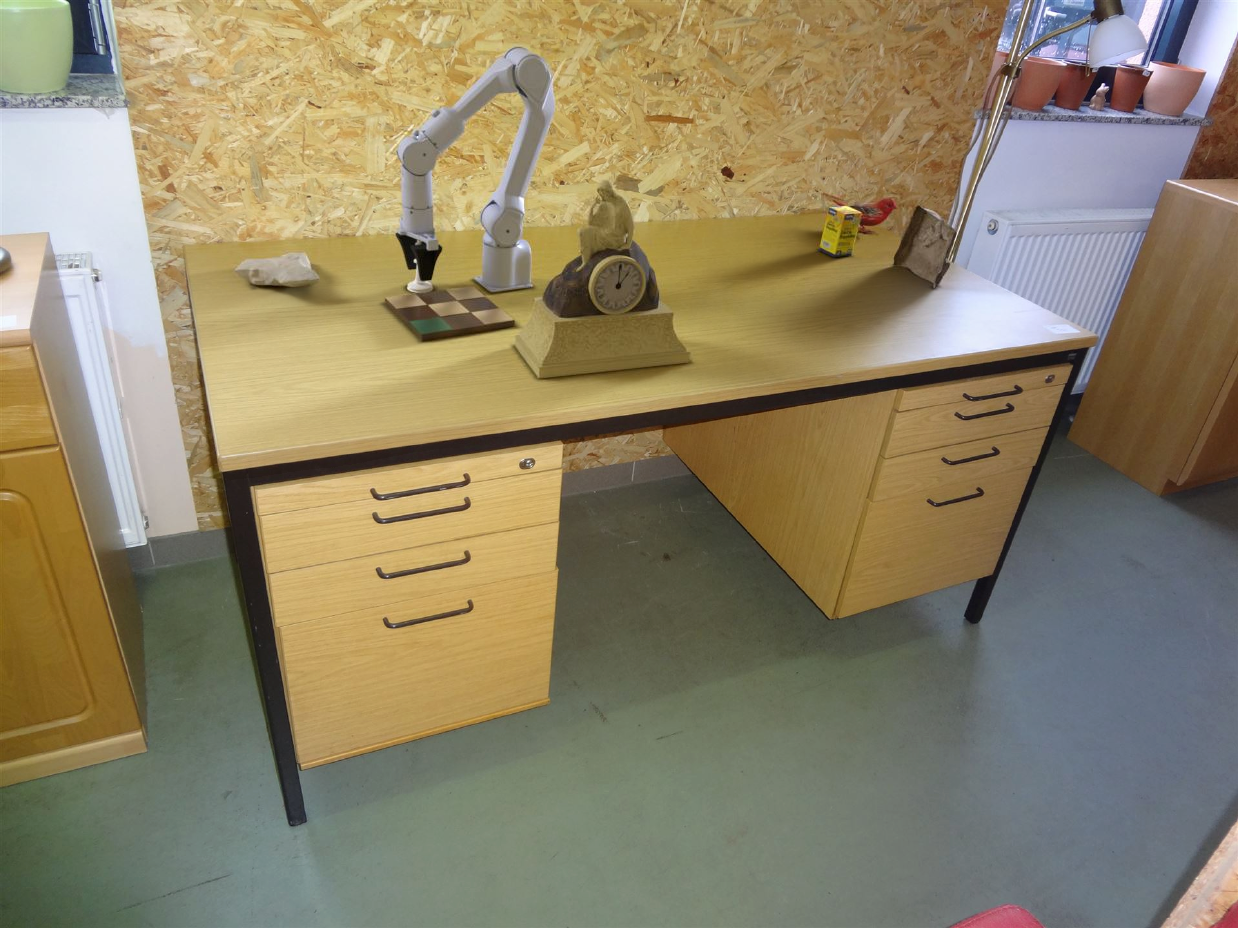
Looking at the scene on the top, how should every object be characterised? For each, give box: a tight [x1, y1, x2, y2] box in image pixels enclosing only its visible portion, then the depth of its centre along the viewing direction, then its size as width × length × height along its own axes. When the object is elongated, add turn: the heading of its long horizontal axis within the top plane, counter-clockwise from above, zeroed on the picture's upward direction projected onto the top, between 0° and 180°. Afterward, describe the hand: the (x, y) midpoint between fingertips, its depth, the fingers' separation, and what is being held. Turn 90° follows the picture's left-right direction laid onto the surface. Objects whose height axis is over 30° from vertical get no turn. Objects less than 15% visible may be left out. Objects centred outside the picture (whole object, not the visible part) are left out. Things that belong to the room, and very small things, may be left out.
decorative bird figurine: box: [832, 197, 898, 234], centre depth 233 cm, size 3×18×10 cm, turn 60°
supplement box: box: [819, 205, 862, 258], centre depth 213 cm, size 6×6×11 cm
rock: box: [234, 251, 320, 288], centre depth 165 cm, size 21×5×15 cm
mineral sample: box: [892, 205, 958, 289], centre depth 202 cm, size 17×4×15 cm, turn 20°
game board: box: [384, 285, 515, 342], centre depth 161 cm, size 18×18×1 cm
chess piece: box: [406, 239, 434, 294], centre depth 168 cm, size 5×5×10 cm
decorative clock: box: [514, 179, 691, 379], centre depth 145 cm, size 28×13×30 cm, turn 114°
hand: (419, 274), depth 169 cm, fingers open, 6 cm apart
